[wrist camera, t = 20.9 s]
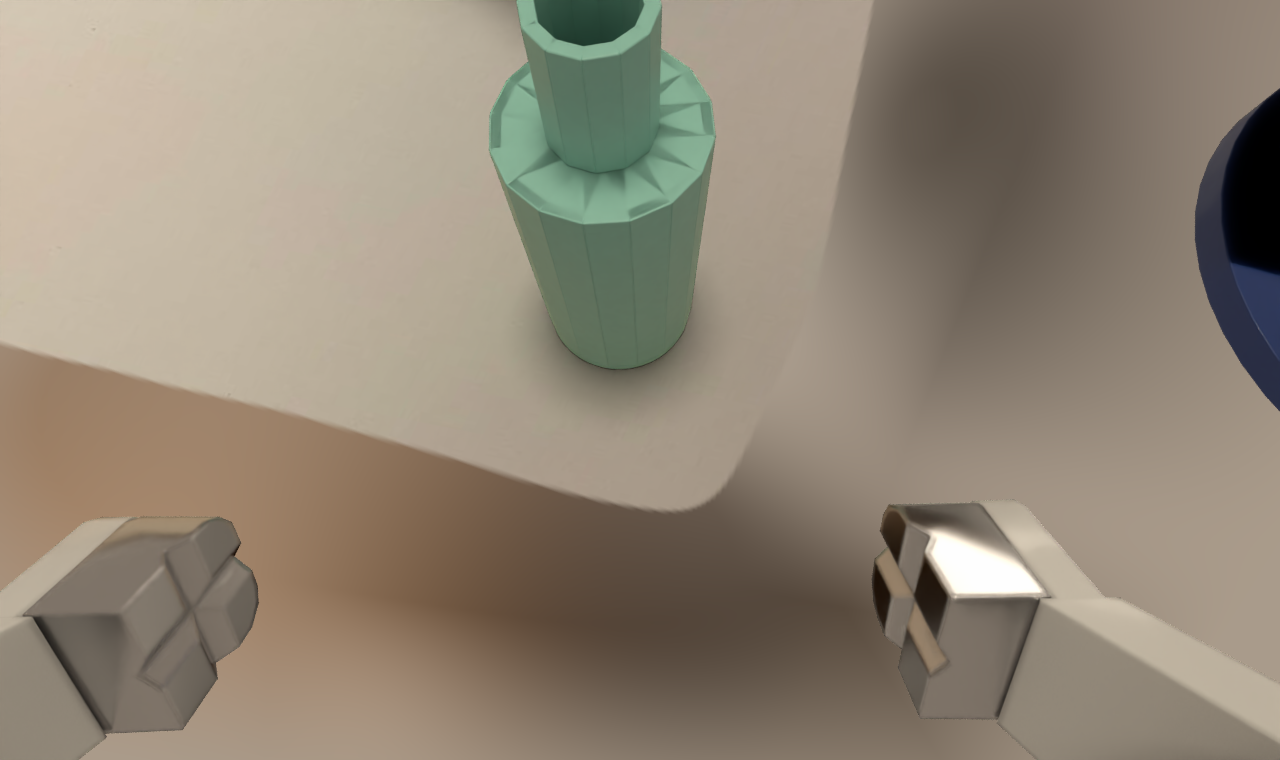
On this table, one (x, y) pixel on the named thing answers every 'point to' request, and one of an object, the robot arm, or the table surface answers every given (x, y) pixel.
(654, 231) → the vase
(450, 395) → the table surface
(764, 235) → the table surface
